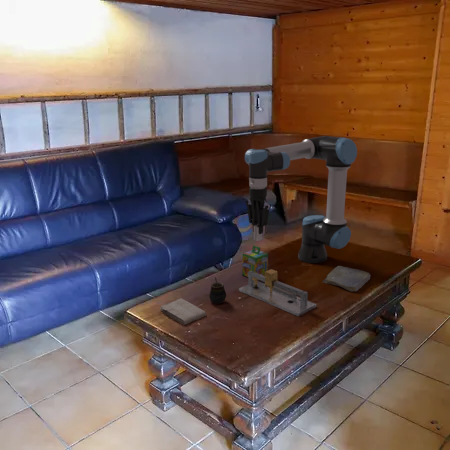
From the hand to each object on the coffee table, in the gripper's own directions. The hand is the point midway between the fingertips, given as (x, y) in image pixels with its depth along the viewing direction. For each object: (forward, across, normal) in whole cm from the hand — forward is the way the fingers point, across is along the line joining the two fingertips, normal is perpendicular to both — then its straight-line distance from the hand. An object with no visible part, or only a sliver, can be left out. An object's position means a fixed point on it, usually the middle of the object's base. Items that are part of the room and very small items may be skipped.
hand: (257, 239), depth 206 cm
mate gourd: (+25, -5, -20) cm, 32 cm away
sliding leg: (+23, +8, 0) cm, 24 cm away
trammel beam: (+24, +11, 0) cm, 27 cm away
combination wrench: (+25, +11, +4) cm, 27 cm away
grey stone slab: (+25, +22, +37) cm, 50 cm away
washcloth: (+25, -8, -37) cm, 46 cm away
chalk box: (+25, -13, +12) cm, 30 cm away
